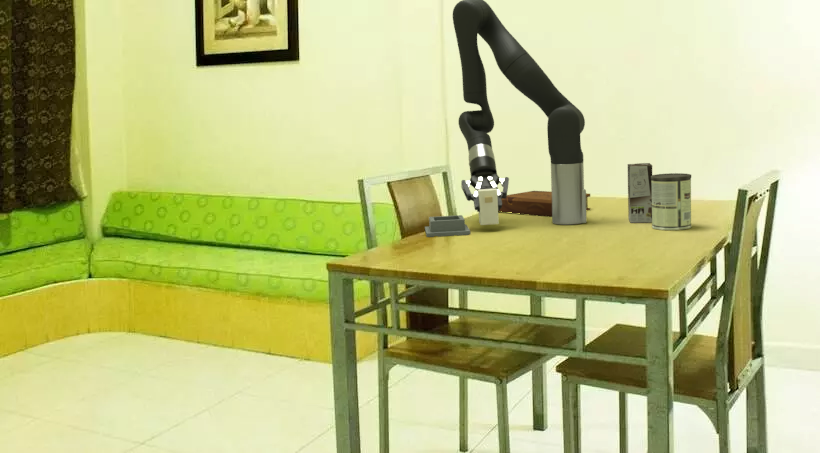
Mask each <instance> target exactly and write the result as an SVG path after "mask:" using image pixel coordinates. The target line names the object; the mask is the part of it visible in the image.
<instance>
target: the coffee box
mask: <svg viewBox="0 0 820 453" xmlns="http://www.w3.org/2000/svg"><path fill="white" fill-rule="evenodd" d="M652 175H653V165H652V164H651V163H650V162H643V163H642V162H641V163H628V164H627V204H628V206H627V211H628V215H627V216H628V221H629V222H630V223H632V224H633V223H634V224H635V223H652V183H651V176H652Z"/></svg>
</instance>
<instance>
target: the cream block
mask: <svg viewBox="0 0 820 453" xmlns="http://www.w3.org/2000/svg"><path fill="white" fill-rule="evenodd" d="M478 197H479V204H480V212H478V223H479V224H480V226H488V225H499V224H500V223H499V222H500V220H499V212H498V199H497V190H496V189H493V188H491V189H480V190H478Z"/></svg>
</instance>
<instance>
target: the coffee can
mask: <svg viewBox="0 0 820 453" xmlns="http://www.w3.org/2000/svg"><path fill="white" fill-rule="evenodd" d="M651 183H652V222H651V225H652V226H651V228H652V229H653V230H659V231H679V230H680V231H683V230H688V229H691V228H692V174H690V173H682V172H681V173H676V172H675V173H659V174H652V176H651Z"/></svg>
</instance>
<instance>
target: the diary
mask: <svg viewBox="0 0 820 453" xmlns="http://www.w3.org/2000/svg"><path fill="white" fill-rule="evenodd" d="M589 197H591V193H587V192H586V210H587V211H590V209H591V207H589V206H588V202H589V201H588V198H589ZM501 200H502V208H500V210H498V211H502V212H512V213H520V214H519V215H524V214H529V215H528V216H536V215H538V216H537V217H548V216H549V217H550V218H552V191H550V190H549V191H546V190H545V191H544V190H530V191H524V192H518V193H511V194H507V197H506V198H502V199H501ZM512 213H511V214H512ZM549 217H548V218H549Z"/></svg>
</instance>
